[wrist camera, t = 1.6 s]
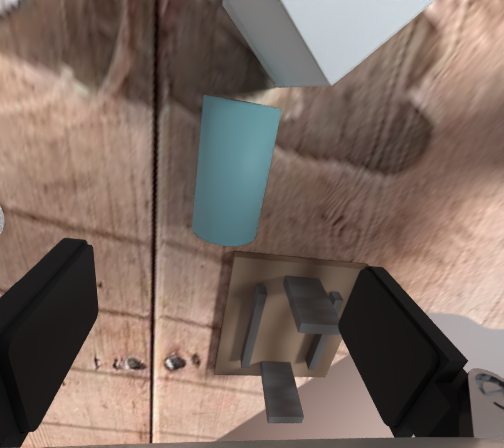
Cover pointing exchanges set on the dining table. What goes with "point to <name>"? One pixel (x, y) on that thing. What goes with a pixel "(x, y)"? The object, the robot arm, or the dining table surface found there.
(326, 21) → the supplement box
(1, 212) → the vase
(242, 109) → the light blue cylinder
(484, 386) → the robot arm
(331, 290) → the roll holder
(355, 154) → the dining table surface
